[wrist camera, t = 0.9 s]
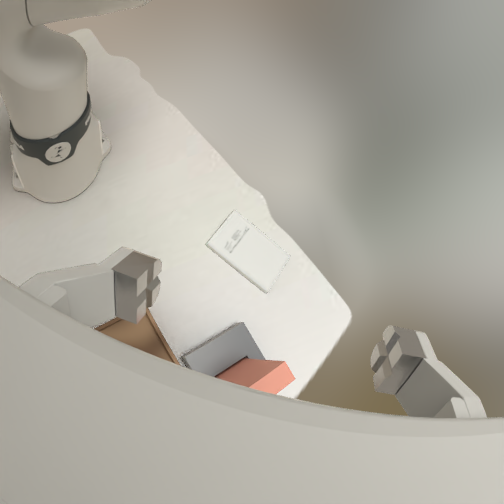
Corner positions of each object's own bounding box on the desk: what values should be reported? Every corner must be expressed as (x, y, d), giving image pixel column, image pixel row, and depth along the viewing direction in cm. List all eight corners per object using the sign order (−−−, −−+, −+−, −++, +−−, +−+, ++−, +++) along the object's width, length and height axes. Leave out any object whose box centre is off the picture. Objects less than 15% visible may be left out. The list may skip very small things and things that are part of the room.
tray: (85, 334, 35) (83, 334, 33) (144, 304, 40) (145, 302, 38) (120, 397, 34) (120, 400, 32) (179, 365, 39) (181, 366, 37)
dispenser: (181, 356, 39) (185, 357, 37) (237, 323, 44) (244, 321, 42) (224, 421, 39) (230, 426, 36) (274, 385, 43) (283, 387, 41)
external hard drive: (263, 294, 48) (204, 246, 47) (286, 257, 52) (232, 212, 50) (268, 292, 47) (206, 242, 45) (291, 255, 51) (235, 208, 49)
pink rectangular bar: (212, 375, 40) (249, 387, 28) (239, 357, 43) (284, 361, 31) (221, 388, 40) (260, 405, 28) (247, 371, 43) (295, 378, 30)
